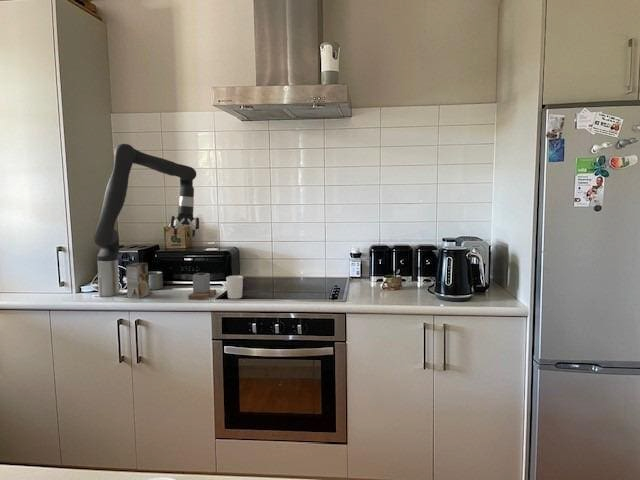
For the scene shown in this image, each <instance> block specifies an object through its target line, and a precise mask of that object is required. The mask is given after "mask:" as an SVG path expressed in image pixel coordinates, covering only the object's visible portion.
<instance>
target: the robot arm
mask: <svg viewBox="0 0 640 480" xmlns="http://www.w3.org/2000/svg"><path fill="white" fill-rule="evenodd" d="M113 153H114V163H113V169H112V172H111V175H110V177H109V179H108V182H107V185H106V188H105V192H104V197H103V202H102V206H101V211H100V216H99V219H98V223H97V225H96V229H95V231H94V234H93V241H94V243H95V245H96V246H97V247H99V252H98V254H97V256H96V257H97V258H96V260H97V261H96V262H97V284H98V295H99V297H111V296H117V295H119V294H120V277H119V273H120V272H119V254H120V237H119V232H118V231H117V230H116V229H115V224H116V221H117V218H118V217H119V215H120V213H121V212H122V209H123V207H124V204H125V201H126V197H127V191H128V187H129V177H130V173H131V170H132V168H133V167H132V166H133V164H134V165H139V166H143V167H146V168H148V169H151V170H154V171H156V172H159V173H160V174H161V173H162V174H164V175H168V176H170V177H171V176H172V177H177V178H179V187H180V188H179V197H178V205H177V206H178V207H177V208H178V210H177V216H175V215H171V219H170V228H172V229H173V235H174V237H178V227H180V225H182V226H190V227H191V238H194V237H195V236H196V230H199V229H200V217H194V209H195V208H194V204H195V201H194V195H195V193H194V192H195V188H194V185H193V184H194V180H195V178H196V177H197V171H196V169H195V168H194V167H192V166H188V165H185V164H181V163H177V162H175V161H171V160H168V159H165V158H162V157H159V156H155V155H152V154H147V153H145V152H142V151H140V150H138V149H135V148H134V147H133V146H132V145H131V144H129V143H121V144H118V145H116V147H115V148H114V150H113ZM176 220H177V223H176V224H175V221H176ZM193 221H194V222H195V225H194V224H193Z"/></svg>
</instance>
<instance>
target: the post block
mask: <svg viewBox="0 0 640 480" xmlns="http://www.w3.org/2000/svg"><path fill="white" fill-rule="evenodd" d="M216 294H217V289H212V288H210V292H208V293H206V294H193V292H192V293H190V294H188V295H187V299H188V300H192V301H193V300H198V301H205V300H206V299H209V298H210V297H212V296H215V295H216Z"/></svg>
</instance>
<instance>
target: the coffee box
mask: <svg viewBox="0 0 640 480" xmlns="http://www.w3.org/2000/svg"><path fill="white" fill-rule="evenodd" d="M125 270H126V273H125V274H126V291H127V292H126V293H127V299H137V300H138V299H141V298H143V297H144V298H145V297H146V296H149V295H150V280H149V279H150V276H149V275H150V274H149V263H148V262H134V263H130V264H125Z"/></svg>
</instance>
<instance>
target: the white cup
mask: <svg viewBox="0 0 640 480" xmlns="http://www.w3.org/2000/svg"><path fill="white" fill-rule="evenodd" d="M243 279H244V276H242V275H228V276H226V277H225V280H226V281H225V282H226V292H227V298H228V299H230V300H231V299H232V300H235V299H237V300H239V299H242V298H243V287H244V286H243V284H244V280H243Z"/></svg>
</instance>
